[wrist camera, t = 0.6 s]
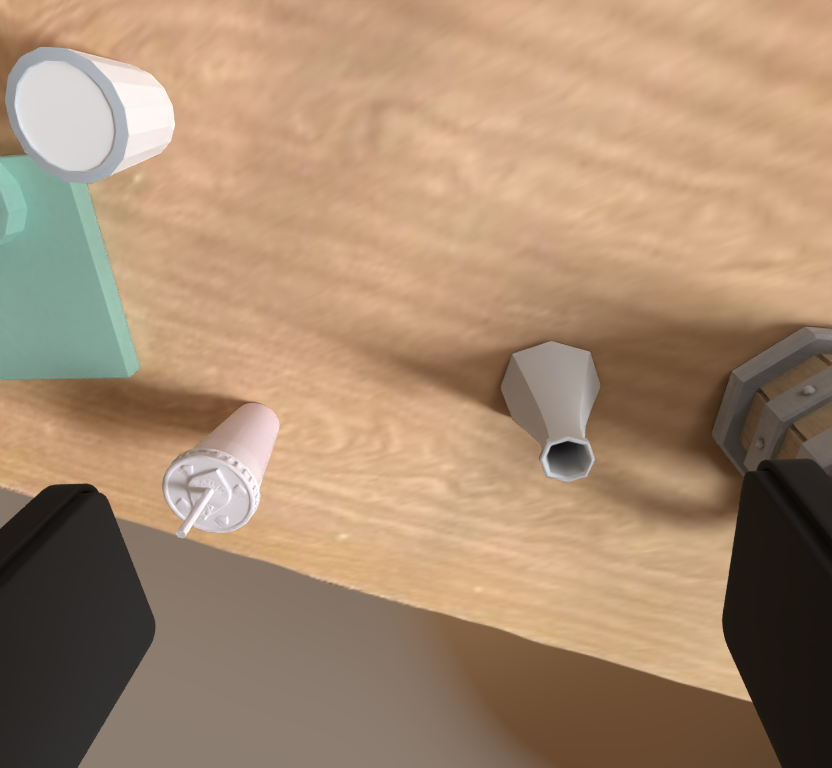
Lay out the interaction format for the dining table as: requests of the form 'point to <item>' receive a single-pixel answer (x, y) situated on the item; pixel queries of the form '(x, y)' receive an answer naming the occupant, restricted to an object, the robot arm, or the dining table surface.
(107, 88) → the white tapered cup
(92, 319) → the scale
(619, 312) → the dining table surface
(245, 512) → the smoothie
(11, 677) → the robot arm
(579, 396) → the flask
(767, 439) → the tankard
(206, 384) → the dining table surface
